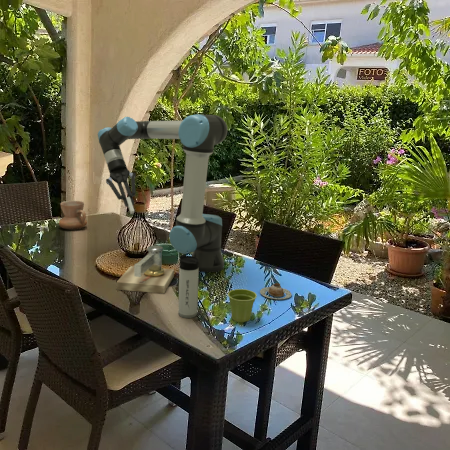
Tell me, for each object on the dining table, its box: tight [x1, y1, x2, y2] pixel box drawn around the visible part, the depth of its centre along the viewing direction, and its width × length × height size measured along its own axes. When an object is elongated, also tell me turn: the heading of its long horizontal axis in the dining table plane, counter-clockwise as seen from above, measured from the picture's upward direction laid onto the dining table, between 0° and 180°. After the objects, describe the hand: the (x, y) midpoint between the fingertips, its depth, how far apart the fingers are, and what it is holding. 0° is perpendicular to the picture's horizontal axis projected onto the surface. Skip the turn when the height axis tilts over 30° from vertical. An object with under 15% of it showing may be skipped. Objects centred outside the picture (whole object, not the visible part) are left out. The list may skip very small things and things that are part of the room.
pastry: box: [259, 282, 293, 300], centre depth 175 cm, size 12×12×5 cm
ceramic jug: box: [58, 200, 88, 231], centre depth 250 cm, size 18×14×14 cm
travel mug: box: [177, 254, 200, 319], centre depth 153 cm, size 6×7×20 cm
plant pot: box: [227, 288, 258, 323], centre depth 152 cm, size 9×9×9 cm
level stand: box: [116, 265, 175, 294], centre depth 180 cm, size 18×18×3 cm
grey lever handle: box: [133, 245, 165, 277], centre depth 174 cm, size 21×8×10 cm, turn 169°
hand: (132, 212), depth 191 cm, fingers closed
